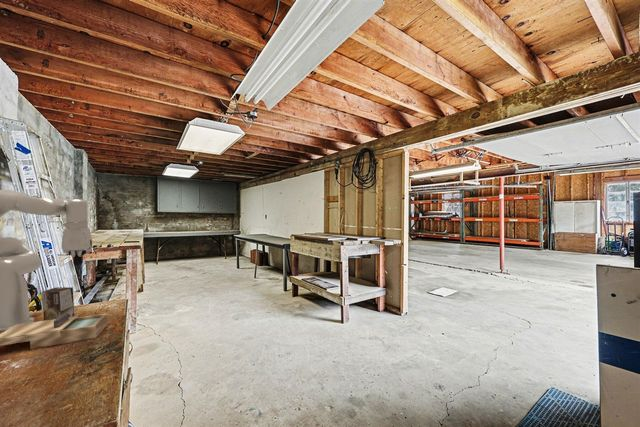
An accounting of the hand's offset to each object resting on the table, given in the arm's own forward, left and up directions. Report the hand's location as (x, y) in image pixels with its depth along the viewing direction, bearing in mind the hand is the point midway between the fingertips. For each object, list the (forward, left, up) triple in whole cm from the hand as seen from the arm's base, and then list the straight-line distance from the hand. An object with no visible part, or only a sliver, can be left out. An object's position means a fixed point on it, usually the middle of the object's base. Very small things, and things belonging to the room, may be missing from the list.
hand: (78, 264), depth 128 cm
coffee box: (-7, -1, -27) cm, 28 cm away
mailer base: (+4, -18, -26) cm, 32 cm away
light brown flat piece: (-7, -18, -23) cm, 30 cm away
